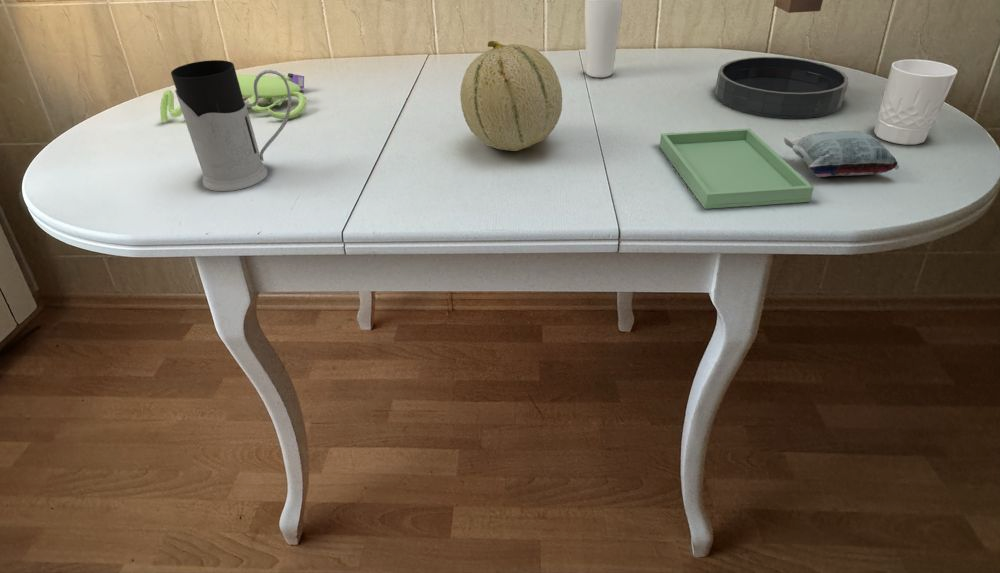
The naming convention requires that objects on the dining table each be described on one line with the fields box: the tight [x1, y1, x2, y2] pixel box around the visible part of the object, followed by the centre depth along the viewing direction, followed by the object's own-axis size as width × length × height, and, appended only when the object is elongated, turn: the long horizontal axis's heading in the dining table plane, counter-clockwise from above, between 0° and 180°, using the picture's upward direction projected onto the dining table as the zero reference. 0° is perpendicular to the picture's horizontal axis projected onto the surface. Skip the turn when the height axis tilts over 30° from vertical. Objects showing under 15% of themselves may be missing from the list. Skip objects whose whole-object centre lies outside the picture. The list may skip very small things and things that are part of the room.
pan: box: [714, 56, 849, 120], centre depth 106 cm, size 20×20×4 cm
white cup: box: [873, 58, 958, 146], centre depth 89 cm, size 8×8×10 cm
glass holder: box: [170, 59, 292, 192], centre depth 84 cm, size 9×14×15 cm, turn 111°
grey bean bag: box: [783, 130, 900, 178], centre depth 82 cm, size 9×12×5 cm
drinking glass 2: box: [584, 0, 624, 79], centre depth 116 cm, size 7×7×15 cm
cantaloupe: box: [459, 40, 563, 152], centre depth 89 cm, size 15×15×15 cm
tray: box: [659, 127, 815, 210], centre depth 83 cm, size 19×13×2 cm
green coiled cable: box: [159, 72, 307, 123], centre depth 111 cm, size 18×27×6 cm
